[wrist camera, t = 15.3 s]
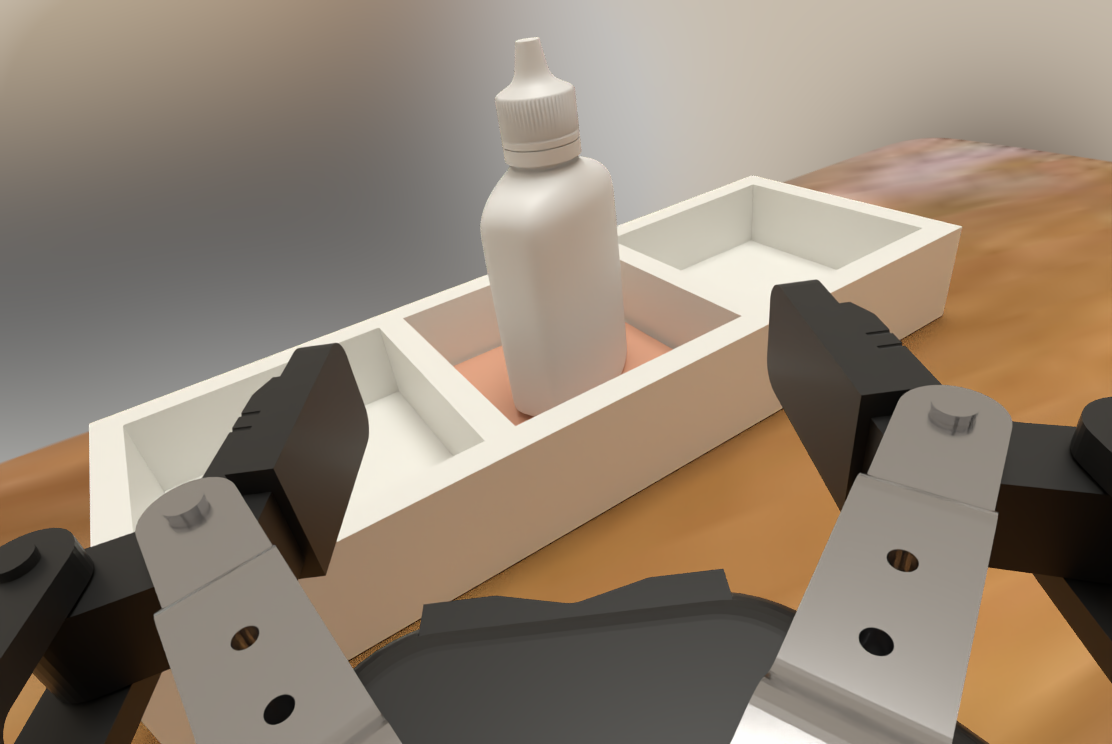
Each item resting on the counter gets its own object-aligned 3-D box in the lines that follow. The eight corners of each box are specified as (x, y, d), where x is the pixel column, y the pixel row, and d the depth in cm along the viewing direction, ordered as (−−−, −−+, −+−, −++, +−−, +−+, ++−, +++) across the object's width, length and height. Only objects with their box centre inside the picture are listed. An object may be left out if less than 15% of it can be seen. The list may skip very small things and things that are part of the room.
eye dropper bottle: (485, 385, 26) (409, 54, 19) (602, 334, 28) (569, 21, 22) (539, 439, 23) (470, 63, 16) (667, 378, 25) (651, 23, 18)
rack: (750, 247, 36) (752, 175, 34) (942, 315, 28) (962, 226, 26) (144, 508, 24) (89, 423, 22) (176, 760, 16) (92, 665, 14)
